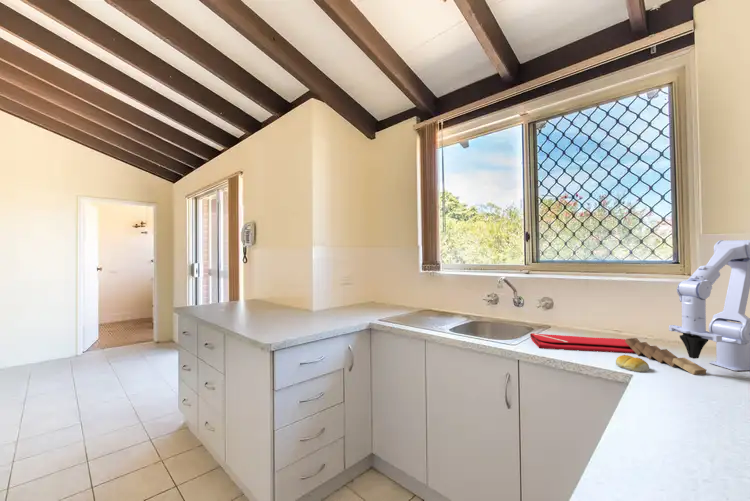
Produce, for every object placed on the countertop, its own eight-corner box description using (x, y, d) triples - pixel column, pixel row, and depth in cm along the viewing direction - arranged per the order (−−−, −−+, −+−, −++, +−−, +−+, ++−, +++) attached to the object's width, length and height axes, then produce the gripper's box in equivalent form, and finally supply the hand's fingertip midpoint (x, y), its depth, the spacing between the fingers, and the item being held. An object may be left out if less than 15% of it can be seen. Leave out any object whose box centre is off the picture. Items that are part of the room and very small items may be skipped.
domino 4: (683, 366, 113) (664, 352, 120) (685, 363, 113) (666, 349, 119) (672, 367, 113) (654, 353, 119) (674, 363, 112) (655, 349, 118)
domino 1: (648, 354, 126) (634, 340, 131) (650, 352, 125) (636, 338, 130) (638, 355, 125) (624, 341, 131) (640, 352, 124) (626, 338, 130)
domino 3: (671, 362, 117) (654, 348, 124) (673, 359, 117) (655, 345, 123) (660, 363, 117) (643, 349, 123) (662, 359, 116) (645, 346, 122)
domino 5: (705, 374, 107) (683, 361, 113) (706, 369, 106) (684, 357, 113) (693, 374, 106) (672, 362, 113) (694, 370, 106) (673, 358, 112)
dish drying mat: (653, 356, 126) (653, 346, 126) (539, 350, 135) (539, 341, 135) (631, 344, 142) (631, 335, 142) (529, 339, 150) (529, 331, 150)
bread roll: (627, 362, 118) (627, 351, 118) (653, 371, 110) (653, 359, 110) (609, 364, 117) (609, 353, 117) (634, 373, 108) (634, 361, 108)
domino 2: (660, 358, 121) (644, 345, 128) (662, 355, 121) (646, 342, 127) (649, 359, 121) (634, 345, 127) (651, 356, 120) (636, 342, 126)
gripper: (661, 313, 115) (661, 351, 115) (707, 322, 100) (708, 366, 100) (678, 312, 116) (679, 350, 116) (727, 321, 101) (727, 364, 101)
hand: (693, 357), depth 108 cm, fingers closed
